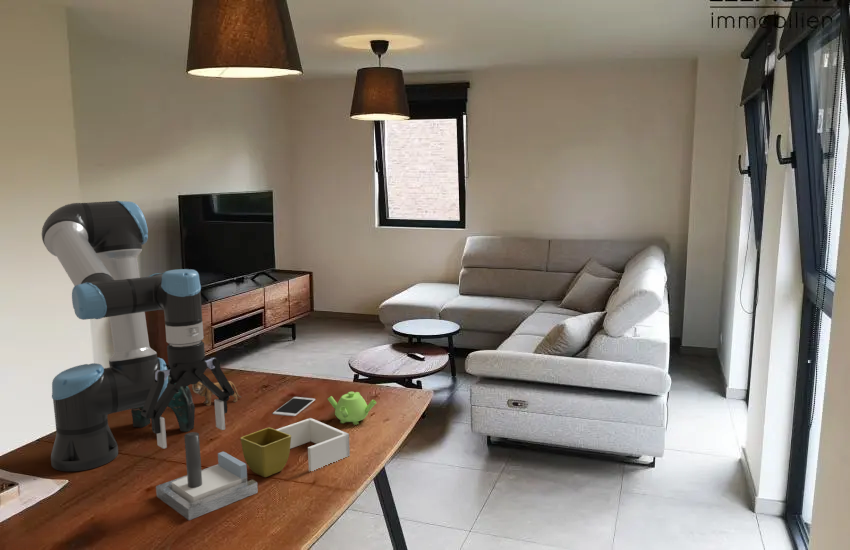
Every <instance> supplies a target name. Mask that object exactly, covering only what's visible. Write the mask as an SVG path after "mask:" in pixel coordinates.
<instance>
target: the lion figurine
mask: <svg viewBox="0 0 850 550" xmlns="http://www.w3.org/2000/svg"><path fill="white" fill-rule="evenodd" d="M212 382H213V381H212ZM228 382H229V383H230V385H231V387H232V388H233V390H234V392H235V393H234V395H232V396H231V397H232V398H234V399H233V400H232V402H233V403H236V402H238V398H242V396H241V395H240V394H239V393H238V389H237V388H236V385H235V384H234V382H232V381H231V380H228ZM197 383H198V384H191V385H192V386H191V387H192V391H193V392H194V393H195V394H197V395H199V396H200V397H204V399H205V400H204V401H203V404H205V405H206V406H209V407H210V406H211V405H212V396H213V395H214V394H213V393H212V392H211V391H210V390H209V389H208V388H207V387H206V386H205V385H203V384H202V383H201V382H200V381H199V382H197ZM213 383H214V384H215V385H216V386H217V387H218V388H219V389H220V390H221V391H223V389H222V387H221V386H220V384H219V382H218V381H217V382H213ZM229 398H230V396H229Z"/></svg>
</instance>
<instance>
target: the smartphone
mask: <svg viewBox="0 0 850 550" xmlns="http://www.w3.org/2000/svg"><path fill="white" fill-rule="evenodd" d="M314 401H316V398H313V397H303V396H301V397H300V396H293V397H292V398H291V399H290V400H288V401H287V402H286V403H284V404H283V405H281V406H280V407H278V408H277V409H276V410H274V412H272V415H276V416H288V417H295V416H298V414H300V413H301V412H302V411H303V410H305V409H306V408H307V407H309V406H310V405H311V404H312V403H313V402H314Z"/></svg>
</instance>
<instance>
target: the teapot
mask: <svg viewBox="0 0 850 550" xmlns="http://www.w3.org/2000/svg"><path fill="white" fill-rule="evenodd" d="M327 401H328V402H329V403H330V404H331V406H332V407H333V408H334V415H335V417H336V418H337V419H338V420H339V424H345V423H352V424H353V425H354V426H355V425H356V426H358V425H359V424H360V423H359V422H360V421H363V420H364V419H366V417H367V416H368V415H369V412H370V411H371V410H372V408H374V406H375V405H376V404H377V401H376V400H375V399H371V401H370V402H368V404H367V402H366V400H365V398H364V397H363V396H362V395H361V393H360V392H359V391H356V392H354V391H348V392H347V393H345V394H342V395H341V396H340V398H339V400H338V401H336V400H335V399H334V397H333V396H332V395H331V396H330V397H328V398H327ZM357 424H358V425H357Z"/></svg>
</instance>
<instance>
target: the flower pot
mask: <svg viewBox="0 0 850 550" xmlns="http://www.w3.org/2000/svg"><path fill="white" fill-rule="evenodd" d="M239 438H240V443H241V447H242V454H243V458H244V460H245V464H246V465H247V466H248V468H249V469H250V471H252V473H255V474H256V475H258V476H261V477H264V478H267V477H270V476H273V475H274V474H277V473H279V472H282V471H283V469H284V467H285V466H286V464H287V462H288V459H289V456H290V452H291V449H290V444H291V435H289V434H286V433H283V432H281V431H278V430H276V429H275V428H273V427H270V426H269V427H266V428H263V429H259V430H257V431H255V432H251V433H249V434H246V435H243V436H241V437H239Z"/></svg>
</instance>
